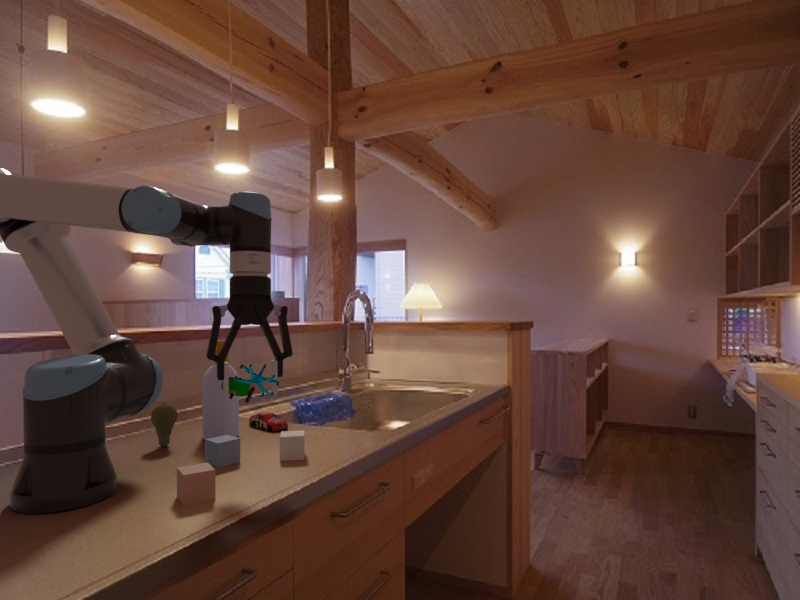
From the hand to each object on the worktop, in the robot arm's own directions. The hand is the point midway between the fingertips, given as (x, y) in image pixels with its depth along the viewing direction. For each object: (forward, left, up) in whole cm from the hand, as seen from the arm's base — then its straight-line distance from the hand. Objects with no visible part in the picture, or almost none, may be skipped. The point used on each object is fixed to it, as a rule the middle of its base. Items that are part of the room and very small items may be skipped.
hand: (250, 396), depth 97 cm
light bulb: (-15, +31, -15) cm, 38 cm away
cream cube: (+10, +10, -15) cm, 21 cm away
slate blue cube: (-4, +12, -15) cm, 20 cm away
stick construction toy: (-1, -1, -1) cm, 2 cm away
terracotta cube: (-10, -7, -15) cm, 20 cm away
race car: (+10, +40, -16) cm, 44 cm away
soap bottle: (-2, +35, -15) cm, 38 cm away
